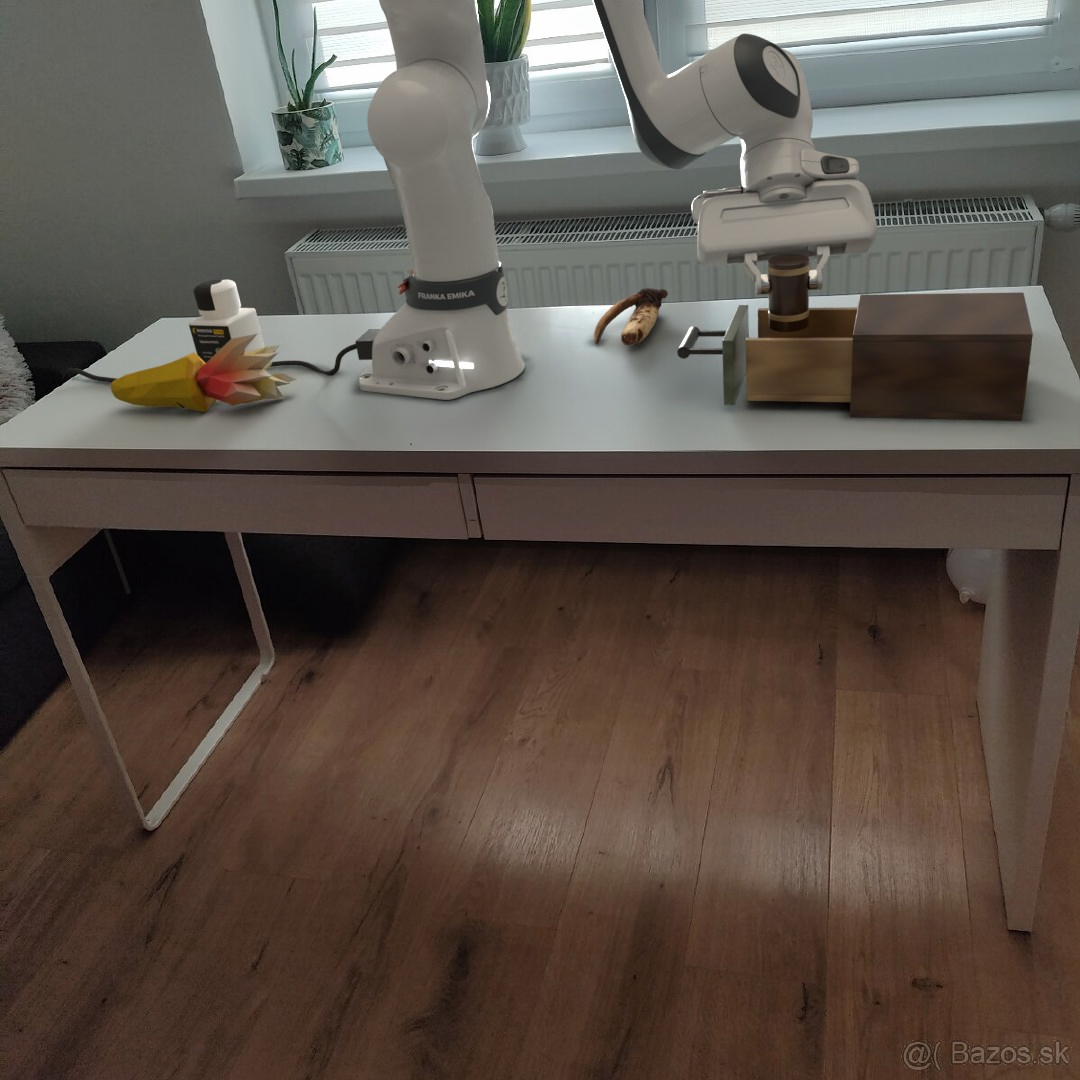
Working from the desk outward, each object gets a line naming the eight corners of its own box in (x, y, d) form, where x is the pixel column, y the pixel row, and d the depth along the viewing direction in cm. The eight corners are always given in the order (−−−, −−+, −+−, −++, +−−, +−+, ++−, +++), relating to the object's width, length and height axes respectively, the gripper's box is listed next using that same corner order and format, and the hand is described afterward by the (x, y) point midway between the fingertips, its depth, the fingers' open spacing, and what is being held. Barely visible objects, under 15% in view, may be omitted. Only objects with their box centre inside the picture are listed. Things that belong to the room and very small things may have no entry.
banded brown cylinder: (765, 332, 123) (765, 266, 119) (770, 319, 126) (770, 254, 123) (807, 332, 121) (807, 264, 117) (810, 319, 125) (811, 252, 121)
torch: (136, 432, 148) (301, 399, 143) (102, 428, 141) (275, 393, 135) (127, 373, 148) (291, 338, 143) (92, 366, 140) (265, 329, 135)
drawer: (674, 404, 124) (671, 340, 121) (693, 365, 135) (691, 305, 131) (873, 407, 117) (876, 340, 114) (878, 366, 128) (881, 303, 124)
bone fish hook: (611, 315, 160) (584, 355, 145) (608, 284, 157) (580, 322, 142) (673, 311, 157) (651, 352, 142) (670, 280, 155) (648, 318, 140)
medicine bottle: (200, 368, 158) (177, 289, 152) (229, 351, 163) (208, 274, 157) (239, 370, 155) (217, 290, 149) (267, 353, 161) (248, 275, 155)
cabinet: (849, 417, 118) (852, 334, 113) (856, 371, 129) (859, 294, 125) (1022, 420, 113) (1033, 334, 108) (1014, 372, 124) (1023, 292, 119)
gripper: (690, 176, 123) (697, 284, 119) (872, 158, 120) (885, 268, 117) (690, 207, 129) (697, 310, 125) (864, 190, 126) (876, 295, 123)
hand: (789, 289), depth 121 cm, fingers closed on banded brown cylinder, 4 cm apart
